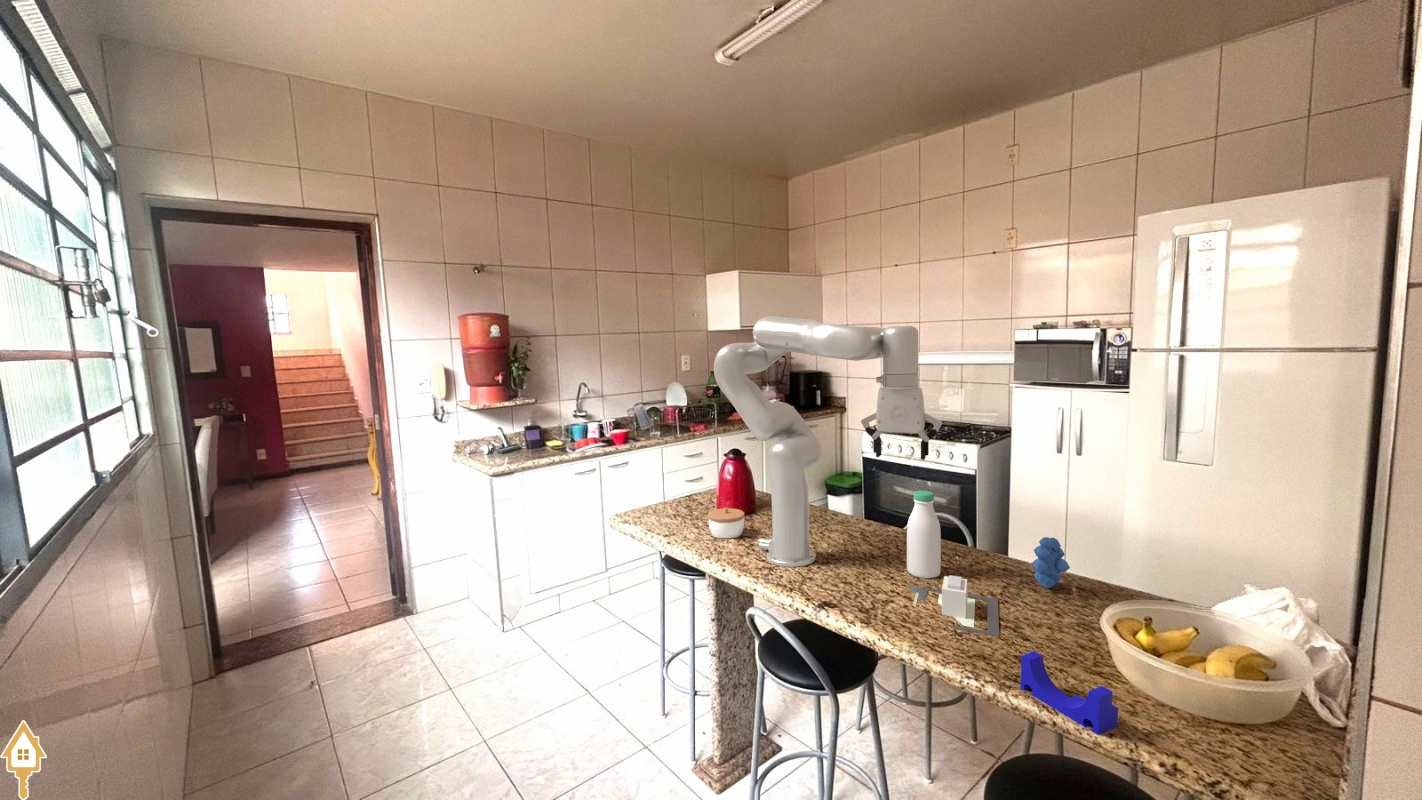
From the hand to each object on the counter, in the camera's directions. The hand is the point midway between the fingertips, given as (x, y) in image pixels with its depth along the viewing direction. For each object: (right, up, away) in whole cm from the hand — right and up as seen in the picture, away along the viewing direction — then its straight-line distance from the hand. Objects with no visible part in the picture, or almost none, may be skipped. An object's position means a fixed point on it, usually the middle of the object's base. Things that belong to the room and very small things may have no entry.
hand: (900, 457), depth 127 cm
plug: (+8, -31, -9) cm, 33 cm away
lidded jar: (-38, -28, +39) cm, 61 cm away
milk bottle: (+9, -29, +10) cm, 32 cm away
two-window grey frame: (+1, -31, -6) cm, 32 cm away
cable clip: (+12, -34, -41) cm, 55 cm away
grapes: (+34, -30, -1) cm, 45 cm away
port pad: (+8, -31, -10) cm, 34 cm away
